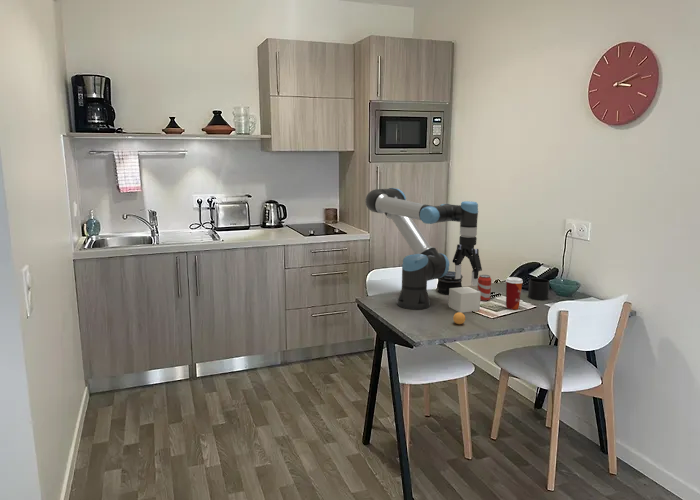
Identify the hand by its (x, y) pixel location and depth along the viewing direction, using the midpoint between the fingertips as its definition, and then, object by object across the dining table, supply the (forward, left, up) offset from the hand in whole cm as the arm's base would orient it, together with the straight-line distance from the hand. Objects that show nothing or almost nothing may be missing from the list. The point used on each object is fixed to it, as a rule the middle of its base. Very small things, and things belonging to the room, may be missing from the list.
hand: (465, 282), depth 240 cm
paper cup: (+21, +10, -13) cm, 26 cm away
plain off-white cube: (0, 0, -13) cm, 13 cm away
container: (-11, +27, -13) cm, 32 cm away
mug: (+33, +34, -13) cm, 49 cm away
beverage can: (+7, +19, -13) cm, 24 cm away
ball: (+1, -23, -10) cm, 25 cm away
